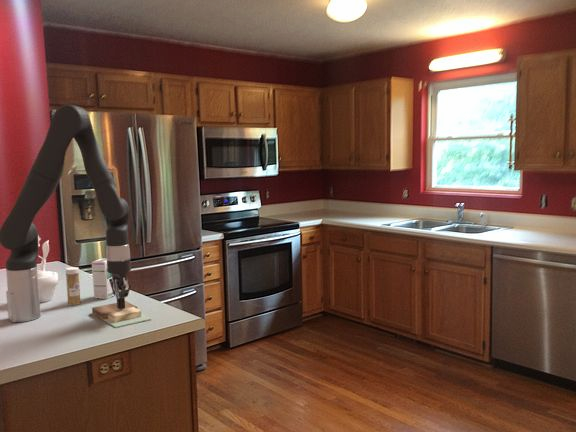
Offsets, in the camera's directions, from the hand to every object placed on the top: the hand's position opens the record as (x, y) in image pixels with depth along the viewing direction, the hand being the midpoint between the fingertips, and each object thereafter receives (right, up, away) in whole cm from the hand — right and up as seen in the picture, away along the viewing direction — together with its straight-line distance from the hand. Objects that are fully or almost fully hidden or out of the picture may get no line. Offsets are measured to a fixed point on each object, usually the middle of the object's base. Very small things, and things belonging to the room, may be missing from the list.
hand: (121, 308), depth 178 cm
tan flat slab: (-4, -2, +4) cm, 6 cm away
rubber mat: (+3, -3, -4) cm, 6 cm away
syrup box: (-14, 0, +25) cm, 29 cm away
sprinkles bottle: (-22, -1, +16) cm, 28 cm away
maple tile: (+2, -3, -2) cm, 4 cm away
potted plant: (-37, -1, +21) cm, 42 cm away
